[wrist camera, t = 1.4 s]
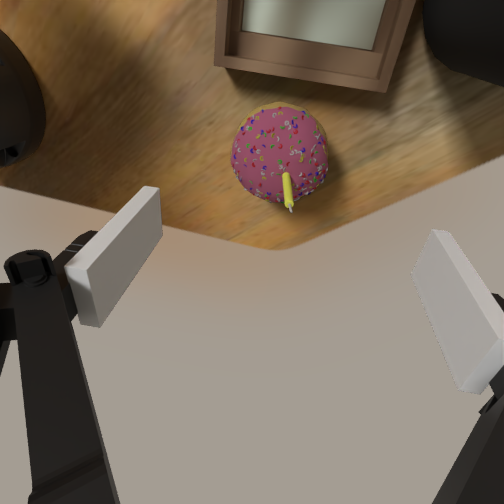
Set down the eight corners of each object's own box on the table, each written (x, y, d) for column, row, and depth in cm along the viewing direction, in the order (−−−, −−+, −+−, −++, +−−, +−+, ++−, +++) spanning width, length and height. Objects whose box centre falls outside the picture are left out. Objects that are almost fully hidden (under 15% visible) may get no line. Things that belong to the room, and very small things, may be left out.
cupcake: (345, 142, 32) (361, 194, 22) (281, 198, 36) (271, 263, 26) (283, 72, 30) (270, 96, 20) (222, 140, 34) (186, 189, 24)
